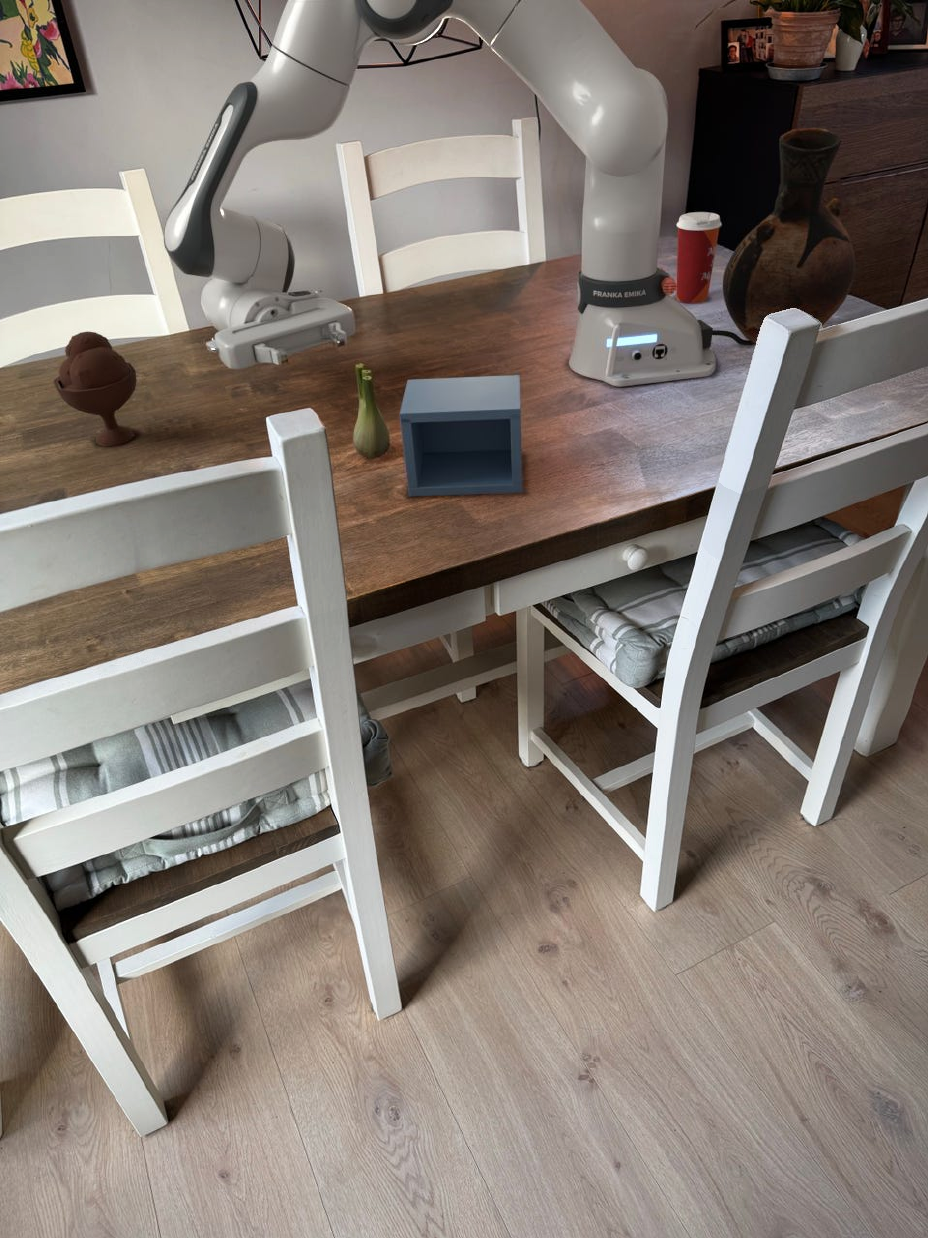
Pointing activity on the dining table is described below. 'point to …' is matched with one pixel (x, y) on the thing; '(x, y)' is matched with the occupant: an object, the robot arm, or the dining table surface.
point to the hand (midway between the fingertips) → (313, 348)
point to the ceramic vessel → (793, 243)
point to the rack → (462, 435)
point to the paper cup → (696, 255)
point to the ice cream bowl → (97, 383)
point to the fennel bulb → (369, 419)
